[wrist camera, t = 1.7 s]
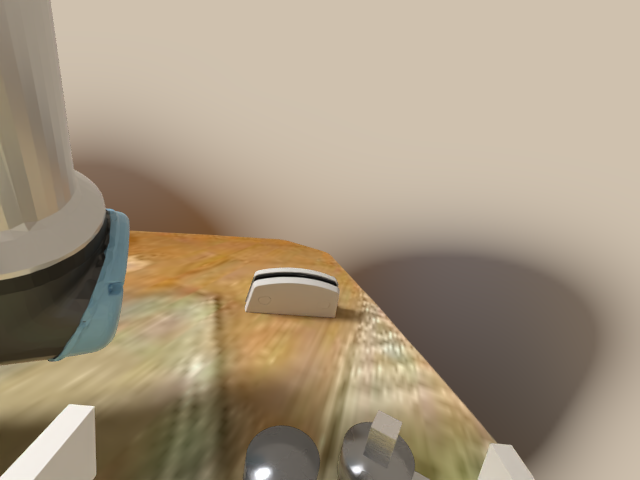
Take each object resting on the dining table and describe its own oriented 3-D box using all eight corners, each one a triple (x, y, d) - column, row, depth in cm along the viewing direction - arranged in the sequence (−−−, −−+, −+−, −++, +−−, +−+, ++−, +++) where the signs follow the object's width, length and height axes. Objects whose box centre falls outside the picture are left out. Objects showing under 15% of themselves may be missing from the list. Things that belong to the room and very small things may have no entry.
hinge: (330, 304, 65) (344, 267, 60) (334, 323, 62) (348, 286, 56) (245, 297, 62) (250, 258, 56) (243, 317, 58) (248, 278, 52)
